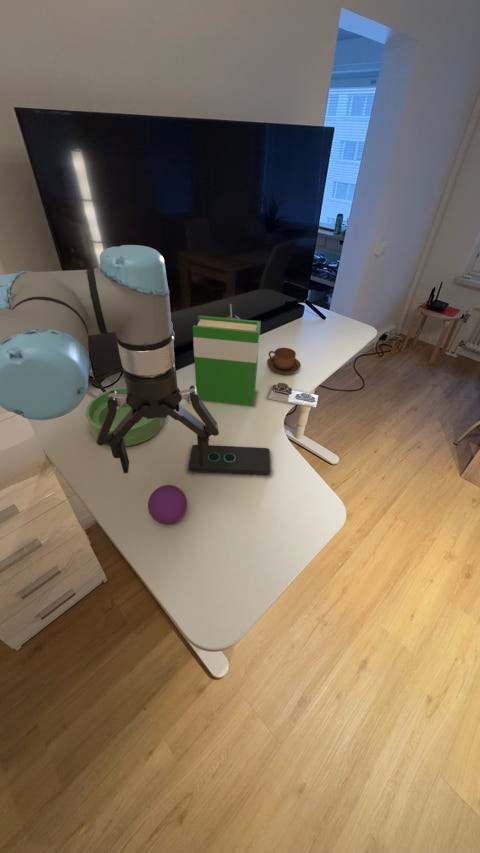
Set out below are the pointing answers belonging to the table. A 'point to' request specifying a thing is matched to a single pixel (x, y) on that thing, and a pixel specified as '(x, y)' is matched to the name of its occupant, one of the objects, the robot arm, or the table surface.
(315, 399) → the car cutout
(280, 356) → the cup and saucer
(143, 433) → the bowl
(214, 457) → the smart home device
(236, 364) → the hardback book
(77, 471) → the table surface
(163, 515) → the ball
